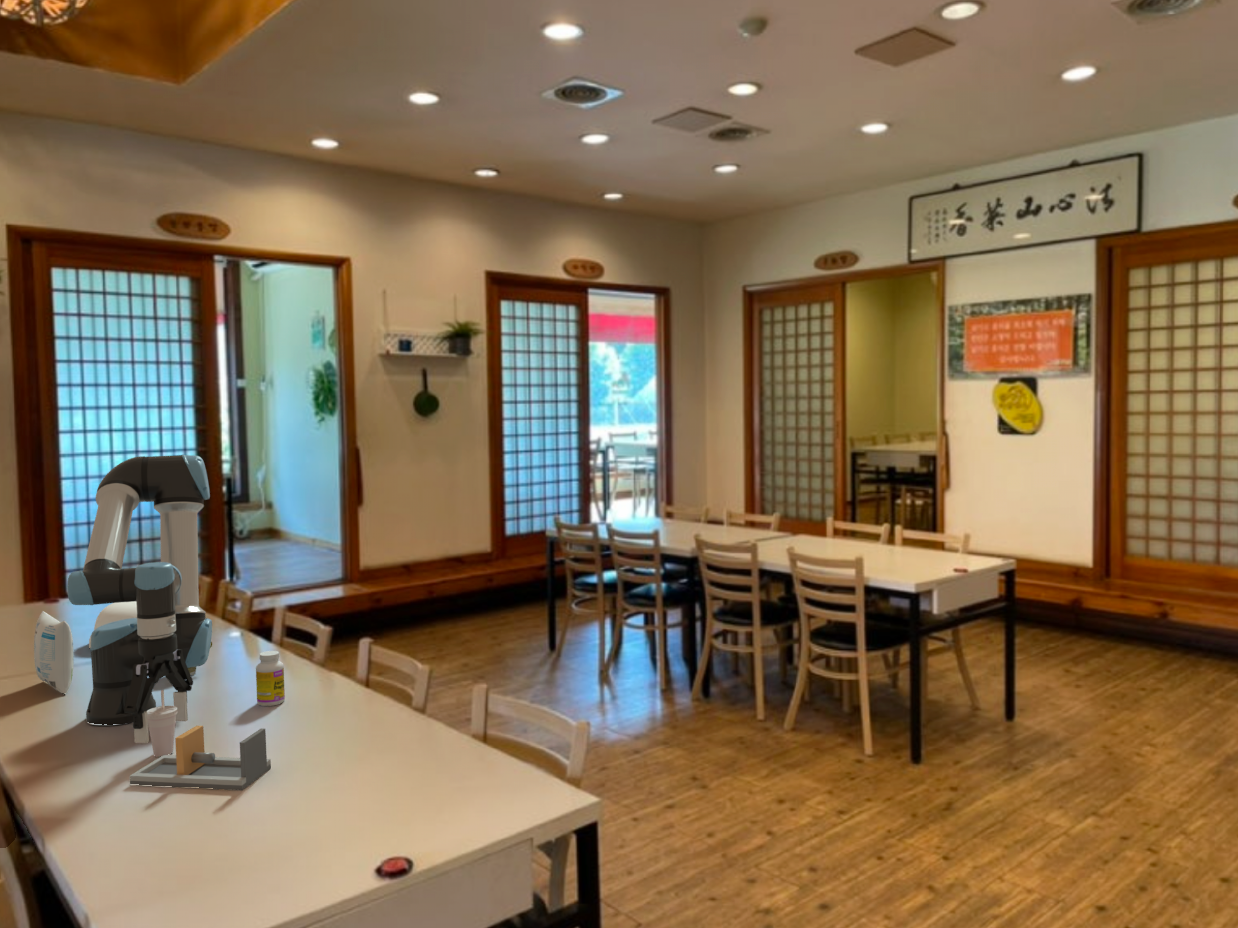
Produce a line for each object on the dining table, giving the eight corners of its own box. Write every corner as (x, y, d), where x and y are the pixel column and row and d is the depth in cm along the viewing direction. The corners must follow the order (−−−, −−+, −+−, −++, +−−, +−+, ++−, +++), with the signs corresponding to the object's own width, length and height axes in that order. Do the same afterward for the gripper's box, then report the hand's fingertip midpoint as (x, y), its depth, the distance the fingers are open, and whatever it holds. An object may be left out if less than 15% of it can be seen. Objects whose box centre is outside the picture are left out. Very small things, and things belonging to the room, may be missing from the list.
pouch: (47, 699, 241) (42, 624, 239) (31, 684, 254) (26, 612, 253) (81, 692, 246) (77, 618, 245) (63, 678, 260) (59, 608, 259)
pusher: (177, 777, 184) (175, 738, 184) (198, 763, 192) (196, 725, 191) (202, 778, 184) (200, 739, 183) (223, 764, 191) (221, 726, 190)
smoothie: (186, 750, 203) (183, 687, 202) (163, 760, 197) (160, 696, 196) (163, 747, 205) (160, 685, 204) (140, 757, 199) (136, 694, 198)
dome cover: (132, 628, 319) (130, 588, 318) (212, 630, 314) (210, 589, 314) (64, 653, 287) (61, 609, 286) (151, 656, 283) (149, 610, 282)
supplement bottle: (275, 707, 231) (273, 657, 230) (251, 706, 232) (249, 656, 231) (290, 699, 237) (288, 650, 236) (267, 698, 238) (264, 649, 238)
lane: (130, 785, 184) (127, 741, 183) (164, 764, 195) (162, 722, 194) (242, 790, 181) (240, 745, 180) (270, 768, 191) (269, 726, 191)
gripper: (135, 650, 186) (140, 753, 187) (207, 621, 211) (211, 712, 212) (101, 649, 187) (107, 751, 189) (176, 621, 212) (181, 712, 213)
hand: (162, 731), depth 200 cm, fingers open, 13 cm apart
